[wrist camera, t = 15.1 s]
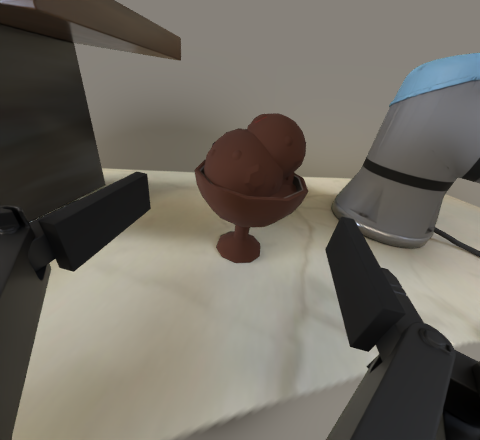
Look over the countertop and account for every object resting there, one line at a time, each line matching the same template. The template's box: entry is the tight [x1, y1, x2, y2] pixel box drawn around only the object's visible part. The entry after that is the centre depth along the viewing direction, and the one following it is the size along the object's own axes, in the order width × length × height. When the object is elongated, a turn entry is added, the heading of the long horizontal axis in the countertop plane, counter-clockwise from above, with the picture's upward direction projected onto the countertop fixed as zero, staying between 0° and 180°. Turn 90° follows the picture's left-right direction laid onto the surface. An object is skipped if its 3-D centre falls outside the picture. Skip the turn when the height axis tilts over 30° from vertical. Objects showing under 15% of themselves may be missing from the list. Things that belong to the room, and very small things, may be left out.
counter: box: [0, 0, 181, 222], centre depth 21 cm, size 17×16×20 cm
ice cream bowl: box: [195, 114, 308, 263], centre depth 21 cm, size 11×11×15 cm
